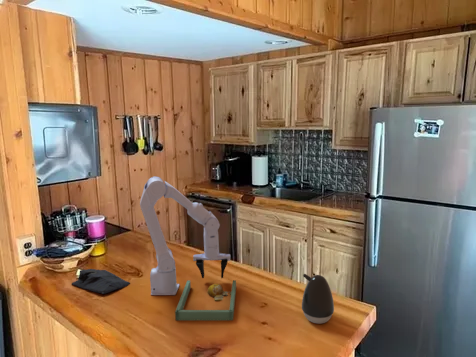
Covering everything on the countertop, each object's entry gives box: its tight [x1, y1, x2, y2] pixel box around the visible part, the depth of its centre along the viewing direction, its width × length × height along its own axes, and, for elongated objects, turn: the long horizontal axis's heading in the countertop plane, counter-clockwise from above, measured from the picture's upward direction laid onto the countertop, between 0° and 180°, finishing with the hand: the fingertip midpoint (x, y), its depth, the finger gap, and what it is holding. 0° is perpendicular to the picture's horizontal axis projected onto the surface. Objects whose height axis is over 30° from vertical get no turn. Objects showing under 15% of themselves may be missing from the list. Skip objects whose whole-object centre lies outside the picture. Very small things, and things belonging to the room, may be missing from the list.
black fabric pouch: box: [71, 268, 131, 295], centre depth 143 cm, size 15×22×5 cm
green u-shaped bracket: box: [174, 279, 237, 321], centre depth 127 cm, size 19×22×3 cm
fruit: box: [207, 283, 232, 302], centre depth 132 cm, size 8×8×4 cm
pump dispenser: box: [301, 273, 335, 325], centre depth 114 cm, size 10×10×15 cm
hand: (212, 277), depth 141 cm, fingers open, 7 cm apart
